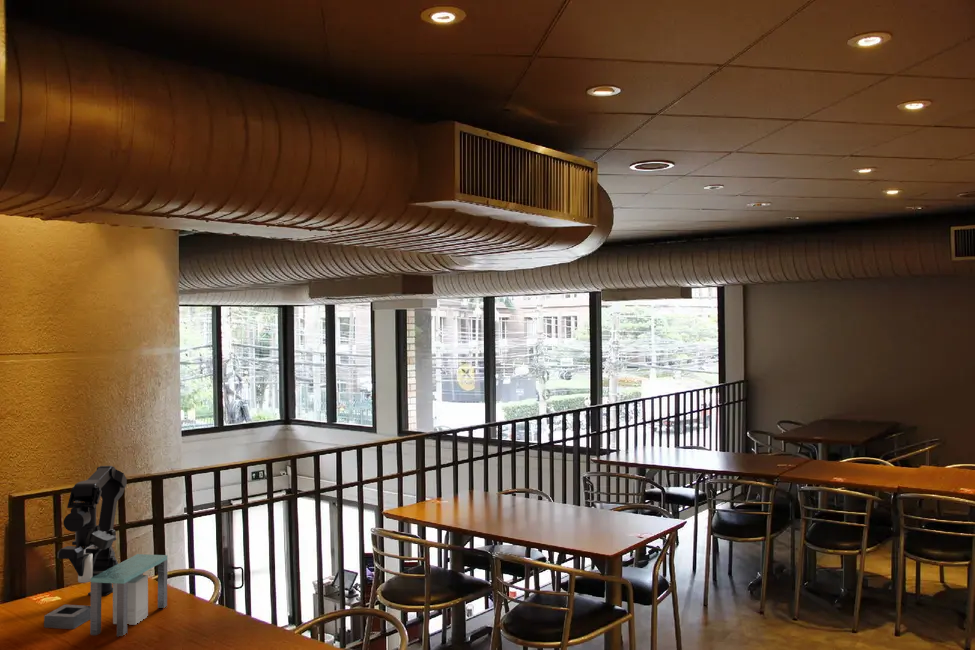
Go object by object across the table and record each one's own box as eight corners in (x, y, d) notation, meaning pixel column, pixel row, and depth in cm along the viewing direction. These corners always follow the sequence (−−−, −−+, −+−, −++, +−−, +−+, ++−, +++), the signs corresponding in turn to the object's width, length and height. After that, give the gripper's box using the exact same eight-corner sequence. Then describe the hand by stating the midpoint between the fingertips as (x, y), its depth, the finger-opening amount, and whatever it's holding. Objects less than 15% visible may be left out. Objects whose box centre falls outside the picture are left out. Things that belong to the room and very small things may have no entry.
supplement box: (148, 616, 239) (149, 574, 239) (135, 625, 232) (135, 582, 232) (125, 615, 240) (126, 573, 240) (111, 624, 232) (112, 581, 232)
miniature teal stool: (137, 605, 248) (137, 554, 248) (167, 607, 247) (167, 555, 247) (90, 634, 224) (90, 578, 224) (123, 636, 223) (123, 579, 223)
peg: (83, 578, 246) (83, 552, 247) (95, 578, 246) (95, 553, 246) (75, 582, 242) (75, 556, 243) (87, 582, 242) (87, 556, 242)
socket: (64, 616, 239) (64, 604, 239) (92, 617, 238) (93, 605, 238) (44, 627, 229) (44, 615, 229) (73, 629, 228) (73, 617, 228)
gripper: (91, 532, 234) (91, 584, 234) (127, 517, 253) (126, 566, 253) (56, 530, 235) (56, 583, 235) (94, 516, 254) (94, 564, 254)
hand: (85, 573), depth 244 cm, fingers closed on peg, 4 cm apart
